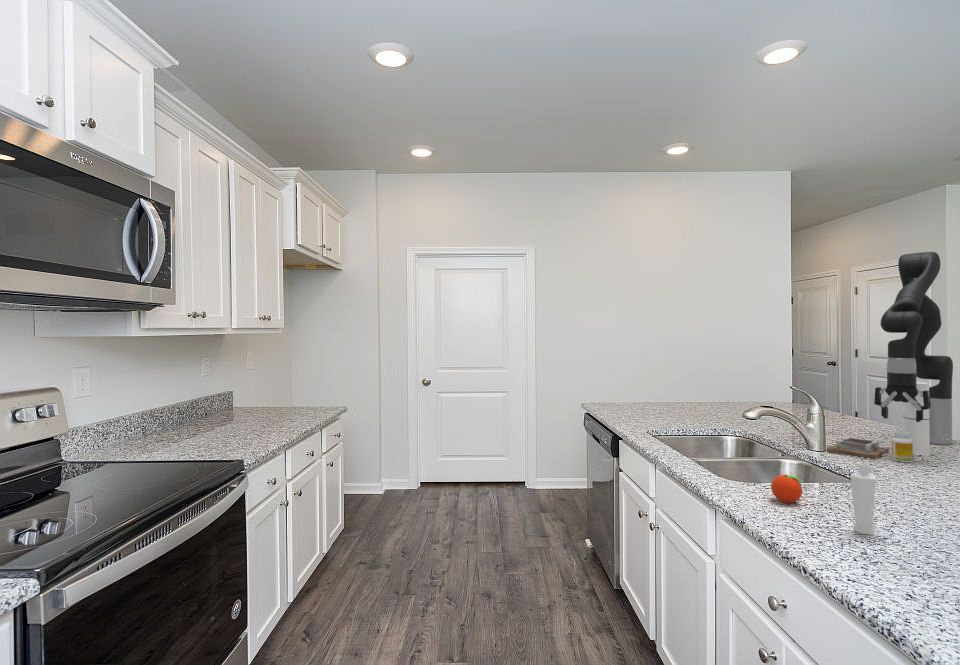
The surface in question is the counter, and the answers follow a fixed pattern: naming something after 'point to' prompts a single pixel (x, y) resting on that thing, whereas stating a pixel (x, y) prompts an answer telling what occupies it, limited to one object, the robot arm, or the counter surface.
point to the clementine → (786, 488)
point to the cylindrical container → (917, 423)
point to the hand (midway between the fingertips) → (901, 420)
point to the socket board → (858, 448)
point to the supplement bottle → (902, 447)
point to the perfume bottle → (863, 499)
